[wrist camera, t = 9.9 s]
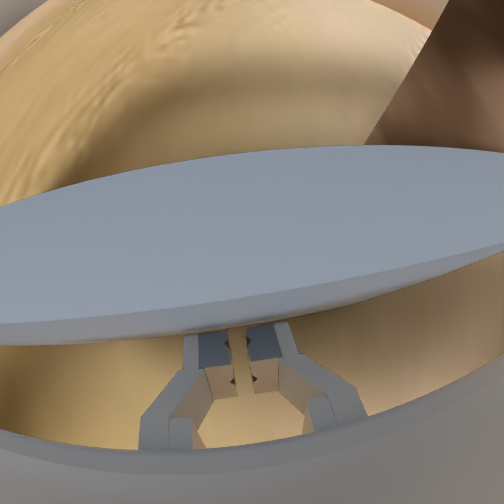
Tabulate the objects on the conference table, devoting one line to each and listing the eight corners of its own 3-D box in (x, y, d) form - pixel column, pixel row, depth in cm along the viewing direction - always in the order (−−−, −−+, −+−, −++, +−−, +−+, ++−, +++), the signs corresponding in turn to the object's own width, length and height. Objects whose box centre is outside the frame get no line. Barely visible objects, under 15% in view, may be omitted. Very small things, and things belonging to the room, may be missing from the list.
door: (350, 304, 15) (550, 229, 3) (14, 345, 13) (-146, 323, 1) (344, 275, 15) (522, 156, 4) (12, 320, 13) (-145, 279, 2)
